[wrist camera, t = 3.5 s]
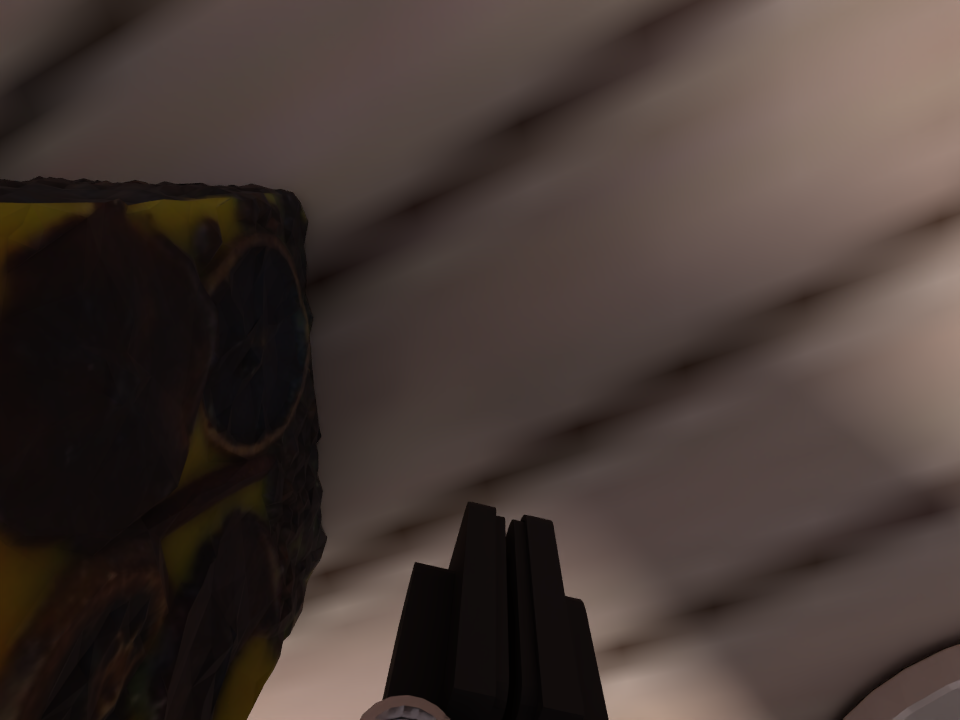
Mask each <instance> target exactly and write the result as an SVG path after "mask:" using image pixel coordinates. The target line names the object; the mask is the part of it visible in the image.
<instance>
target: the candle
mask: <svg viewBox="0 0 960 720" xmlns="http://www.w3.org/2000/svg"><path fill="white" fill-rule="evenodd" d="M307 225H308V221H307V218H306V216H305V213H304V211H303V208H302V206H301V203H300V201H299V200H298V199H297V197H296V196H295V195H294V193H293V192H289V191H285V190H282V189H279V190H272V189H269V188H265V187H262V186H258V185H254V184H249V185H244V186H240V187H238V186H235V185H229V186H222V185H221V186H220V185H218V186H208V185H206V184H203V183H193V184H173V183H169V182H165V181H164V182H161V183H159V184H156V185H154V184H148V183H146V182H141V181H137V180H134V181H130V182H125V183H118V182H117V183H111V182H108V181H103V182H101V181H98V180H96V181H95V182H94V181H91V180H88V179H79V180H75V181H70V180H66V179H63V178H52V177H48V178H43V177H41V176H38V177H36V178H34V179H32V180H30V181H24V182H18V181H10V180H5V179H4V180H2V179H0V720H247V718H248V716H249V714H250V712H251V710H252V708H253V706H254V704H255V702H256V700H257V698H258V696H259V694H260V692H261V690H262V688H263V686H264V684H265V683H266V681H267V680H268V678H269V676H270V675H271V673H272V672H273V670H274V668H275V666H276V664H277V661H278V659H279V657H280V654H281V649H282V644H283V641H284V640H285V639H286V638H287V637H288V636H289V635H290V633H291V631H292V629H293V627H294V625H295V623H296V621H297V619H298V617H299V615H300V613H301V611H302V608H303V602H304V596H305V591H306V586H307V581H308V579H309V577H310V575H311V574H312V572H313V570H314V568H315V567H316V565H317V564H318V563H319V561H320V559H321V557H322V553H323V550H324V547H325V543H326V540H327V536H326V535H325V533H324V532H323V530H322V528H321V509H320V505H321V499H322V492H323V491H322V488H321V484H320V481H319V478H318V475H317V471H318V452H317V448H316V444H317V442H318V441H319V439H320V438H321V433H320V429H319V423H318V416H317V408H316V399H315V393H314V387H313V371H312V361H311V347H310V339H309V334H310V329H311V325H312V321H313V316H312V313H311V311H310V308H309V305H308V302H307V299H306V296H305V284H306V256H305V250H304V241H305V235H306V230H307Z"/></svg>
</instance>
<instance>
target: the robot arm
mask: <svg viewBox="0 0 960 720" xmlns="http://www.w3.org/2000/svg"><path fill="white" fill-rule="evenodd" d="M360 720H609V719H608V715H607V710H606V705H605V700H604V695H603V690H602V686H601V681H600V676H599V671H598V666H597V662H596V657H595V652H594V647H593V642H592V638H591V633H590V628H589V623H588V618H587V613H586V609H585V606H584V603H583V602H582V601H581V599H576V598H572V597H567V596H565V593H564V587H563V581H562V575H561V569H560V563H559V556H558V550H557V544H556V538H555V532H554V526H553V522H552V521H551V520H546V519H542V518H538V517H534V516H529V515H523V517H522V519H521V521H517V520H512V521H511V523H510V525H509V528H508V532H507V535H506V533H505V518H504V517H500V516H496V508H495V507H491V506H486V505H482V504H478V503H473V502H468V503H467V506H466V509H465V513H464V516H463V520H462V523H461V527H460V530H459V534H458V537H457V541H456V544H455V548H454V551H453V555H452V558H451V562H450V565H449V569H443V568H439V567H434V566H430V565H426V564H421V563H417V562H415V564H414V567H413V571H412V575H411V578H410V582H409V586H408V590H407V594H406V598H405V602H404V606H403V610H402V614H401V619H400V623H399V627H398V632H397V636H396V640H395V645H394V650H393V654H392V659H391V663H390V668H389V672H388V677H387V682H386V686H385V691H384V695H383V700H382V701H379V702H377V703H375V704H374V705H373V706H372V707H371V708H369V709H368V710H367V711H366V712H365V713H364V714H363V715H362V716H361V718H360ZM843 720H960V644H957V645H955V646H952V647H949V648H946V649H943V650H941V651H939V652H937V653H935V654H933V655H931V656H929V657H927V658H925V659H923V660H921V661H919V662H917V663H915V664H913V665H911V666H909V667H907V668H905V669H904V670H902V671H901V672H899V673H898V674H897V675H895V676H894V677H892V678H891V679H889V680H888V681H886V682H885V683H883V684H882V685H881V686H879V687H878V688H876V689H875V690H873V691H872V692H871V693H869V694H868V695H867V696H866V697H865V698H864V699H863V700H862V701H861V702H860V703H859V704H858V705H857V706H856V707H855V708H854V709H853V710H852V711H850V712H849V713H848V714H847V715H846V716H845V717H844V718H843Z"/></svg>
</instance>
